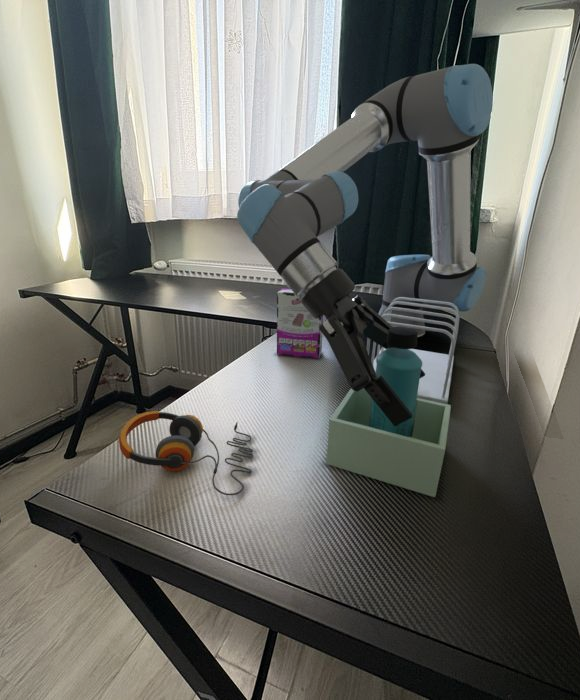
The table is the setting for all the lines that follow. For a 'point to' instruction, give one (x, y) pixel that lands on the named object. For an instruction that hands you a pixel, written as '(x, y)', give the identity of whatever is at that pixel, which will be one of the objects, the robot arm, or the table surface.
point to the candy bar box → (296, 327)
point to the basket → (389, 444)
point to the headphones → (178, 444)
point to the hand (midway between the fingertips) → (411, 397)
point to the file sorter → (433, 363)
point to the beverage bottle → (398, 378)
